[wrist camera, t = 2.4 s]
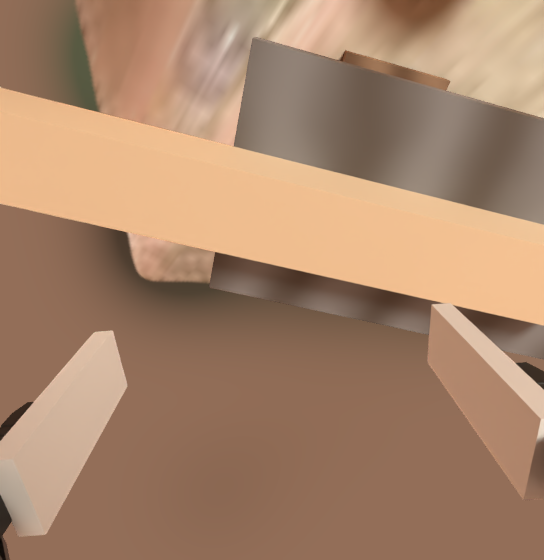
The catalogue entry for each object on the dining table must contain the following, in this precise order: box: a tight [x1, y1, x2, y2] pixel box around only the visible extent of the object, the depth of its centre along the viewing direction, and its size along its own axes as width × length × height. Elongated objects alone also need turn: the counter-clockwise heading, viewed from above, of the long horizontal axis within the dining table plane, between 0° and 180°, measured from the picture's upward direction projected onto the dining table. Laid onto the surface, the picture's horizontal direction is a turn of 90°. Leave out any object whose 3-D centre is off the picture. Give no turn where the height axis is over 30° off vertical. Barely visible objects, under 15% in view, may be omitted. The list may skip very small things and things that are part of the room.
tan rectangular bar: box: [0, 86, 544, 325], centre depth 20 cm, size 34×5×3 cm, turn 77°
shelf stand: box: [209, 37, 544, 359], centre depth 34 cm, size 24×14×30 cm, turn 77°
